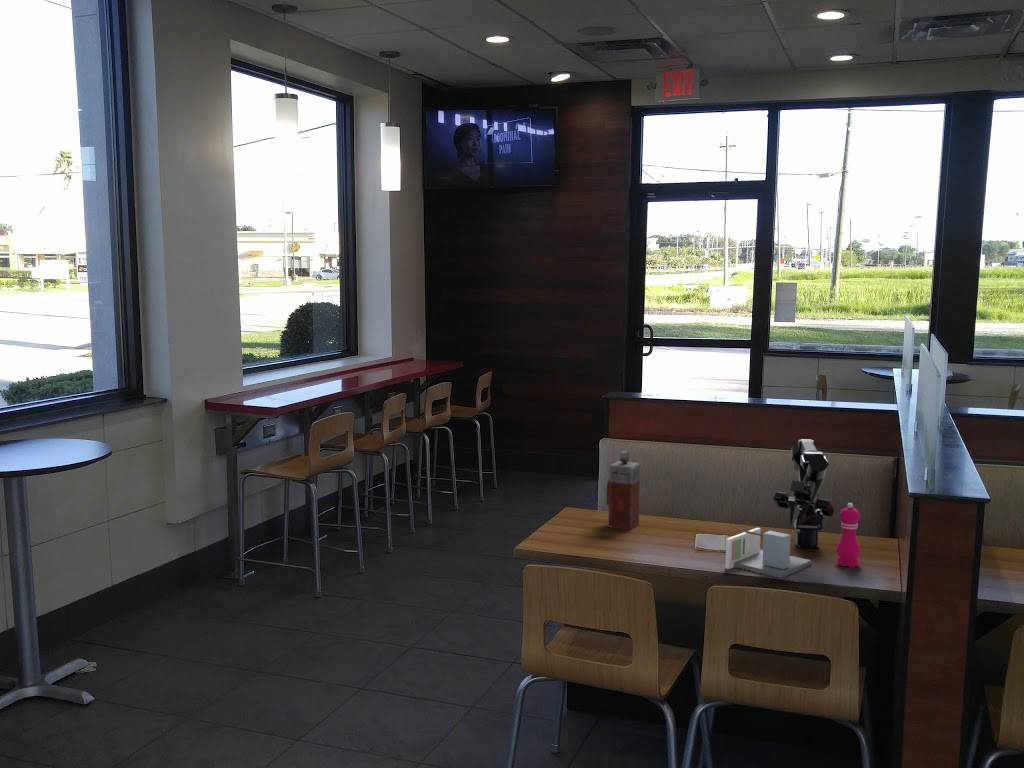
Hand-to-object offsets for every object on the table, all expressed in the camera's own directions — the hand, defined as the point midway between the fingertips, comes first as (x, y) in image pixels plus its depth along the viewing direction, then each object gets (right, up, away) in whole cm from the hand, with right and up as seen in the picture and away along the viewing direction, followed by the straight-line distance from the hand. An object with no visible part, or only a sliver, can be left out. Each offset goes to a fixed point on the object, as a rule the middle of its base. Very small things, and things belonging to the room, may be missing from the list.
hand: (793, 525), depth 284 cm
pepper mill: (+17, -13, +1) cm, 22 cm away
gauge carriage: (-10, -11, -4) cm, 15 cm away
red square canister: (-49, -8, +49) cm, 70 cm away
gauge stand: (-8, -13, -1) cm, 15 cm away
